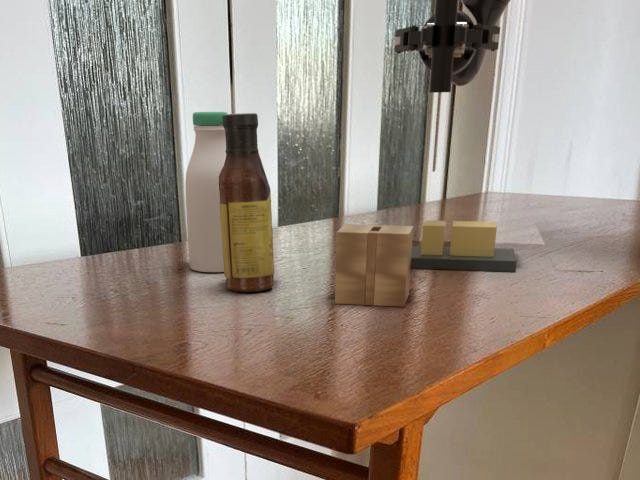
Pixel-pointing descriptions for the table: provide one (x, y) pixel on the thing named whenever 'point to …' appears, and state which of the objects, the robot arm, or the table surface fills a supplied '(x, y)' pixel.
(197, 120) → the milk bottle
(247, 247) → the sauce bottle
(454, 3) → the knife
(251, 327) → the table surface
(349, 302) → the cardboard box
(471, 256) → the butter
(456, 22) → the robot arm
